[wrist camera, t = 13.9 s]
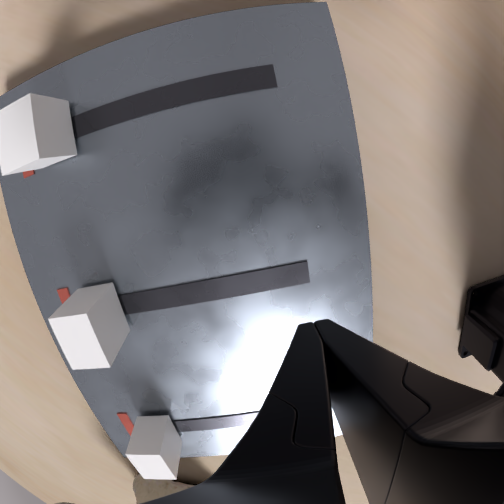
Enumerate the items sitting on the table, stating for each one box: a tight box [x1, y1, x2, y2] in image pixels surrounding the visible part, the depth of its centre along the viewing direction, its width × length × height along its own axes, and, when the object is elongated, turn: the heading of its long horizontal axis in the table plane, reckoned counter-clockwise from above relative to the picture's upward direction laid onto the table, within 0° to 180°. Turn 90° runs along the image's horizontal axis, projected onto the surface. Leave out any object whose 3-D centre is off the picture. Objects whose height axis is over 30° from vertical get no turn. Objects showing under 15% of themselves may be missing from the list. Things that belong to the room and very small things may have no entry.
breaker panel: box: [0, 2, 373, 458], centre depth 18 cm, size 20×28×2 cm
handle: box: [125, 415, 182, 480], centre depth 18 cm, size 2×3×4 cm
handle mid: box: [48, 282, 130, 370], centre depth 15 cm, size 2×3×4 cm
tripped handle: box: [0, 93, 77, 176], centre depth 12 cm, size 2×3×4 cm
